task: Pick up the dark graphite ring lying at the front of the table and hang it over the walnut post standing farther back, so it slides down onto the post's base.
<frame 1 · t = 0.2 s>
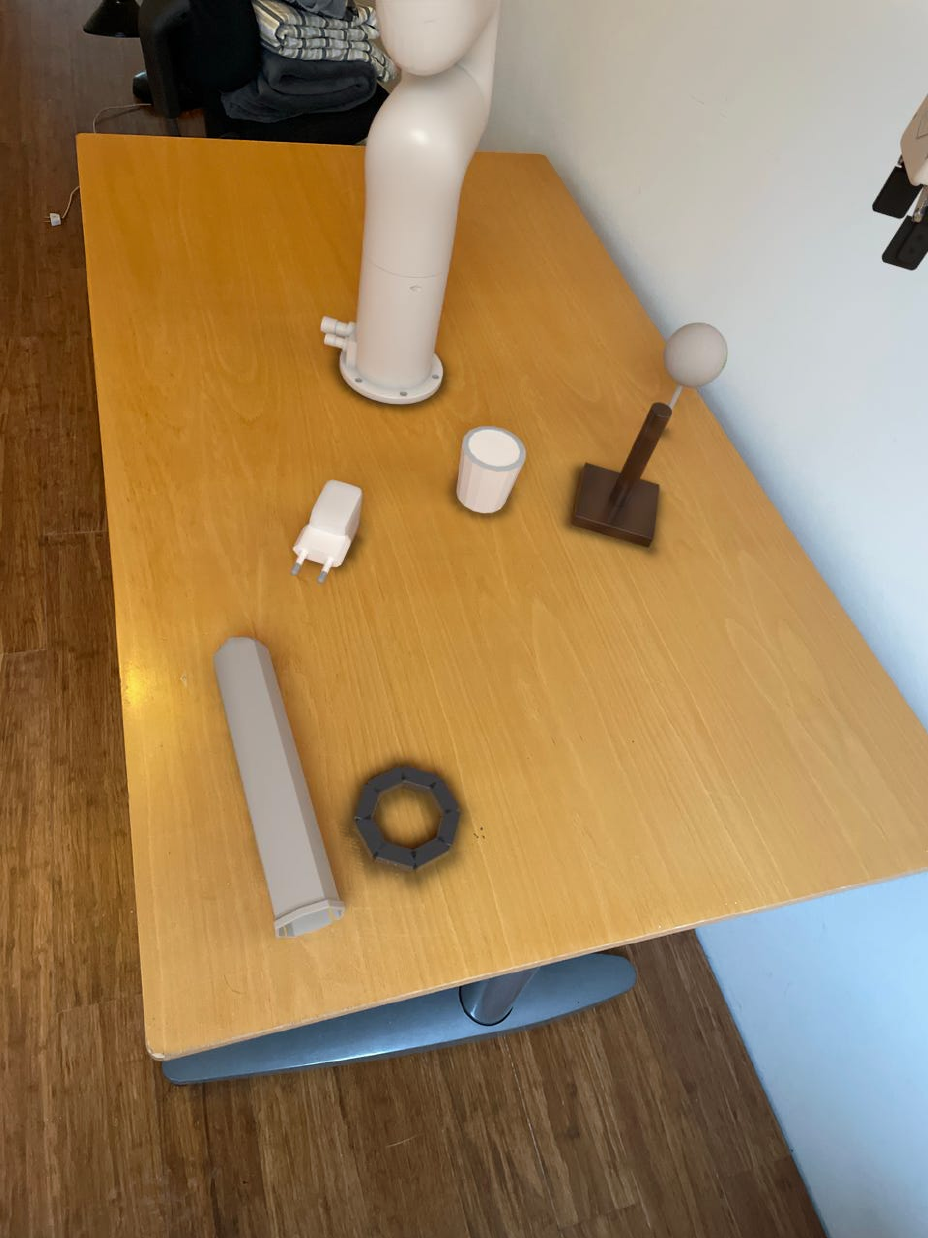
hand: (891, 238, 76), 31 cm above the table, tool pointing down, fingers open, 9 cm apart
shot glass: (480, 495, 91), on the table
power adapter: (325, 559, 81), on the table
tube: (270, 783, 67), on the table
post: (614, 508, 93), on the table
lollipop: (657, 432, 103), on the table
ring: (406, 821, 67), on the table
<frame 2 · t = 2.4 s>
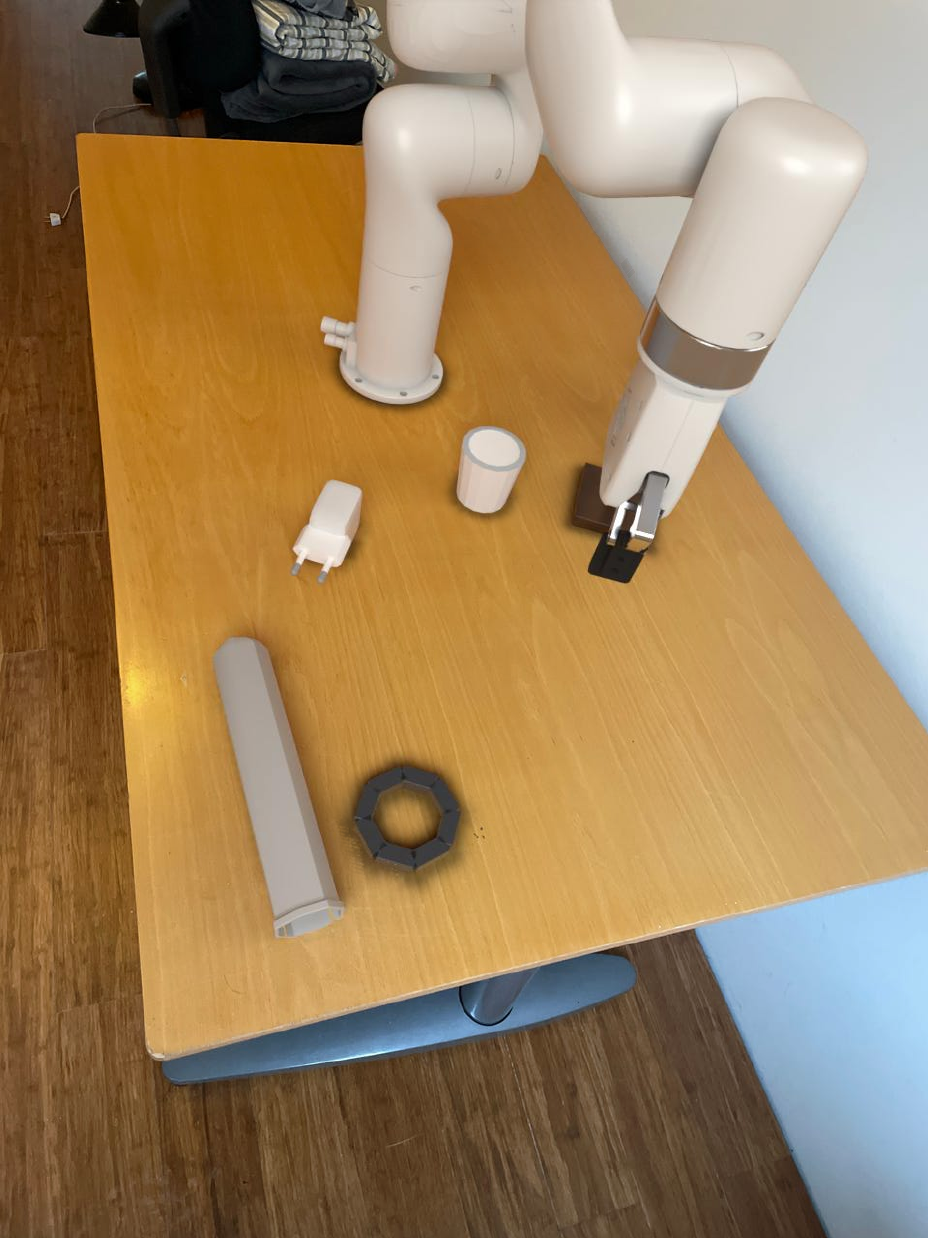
hand: (613, 529, 63), 20 cm above the table, tool pointing down, fingers open, 9 cm apart
nothing on the table moved.
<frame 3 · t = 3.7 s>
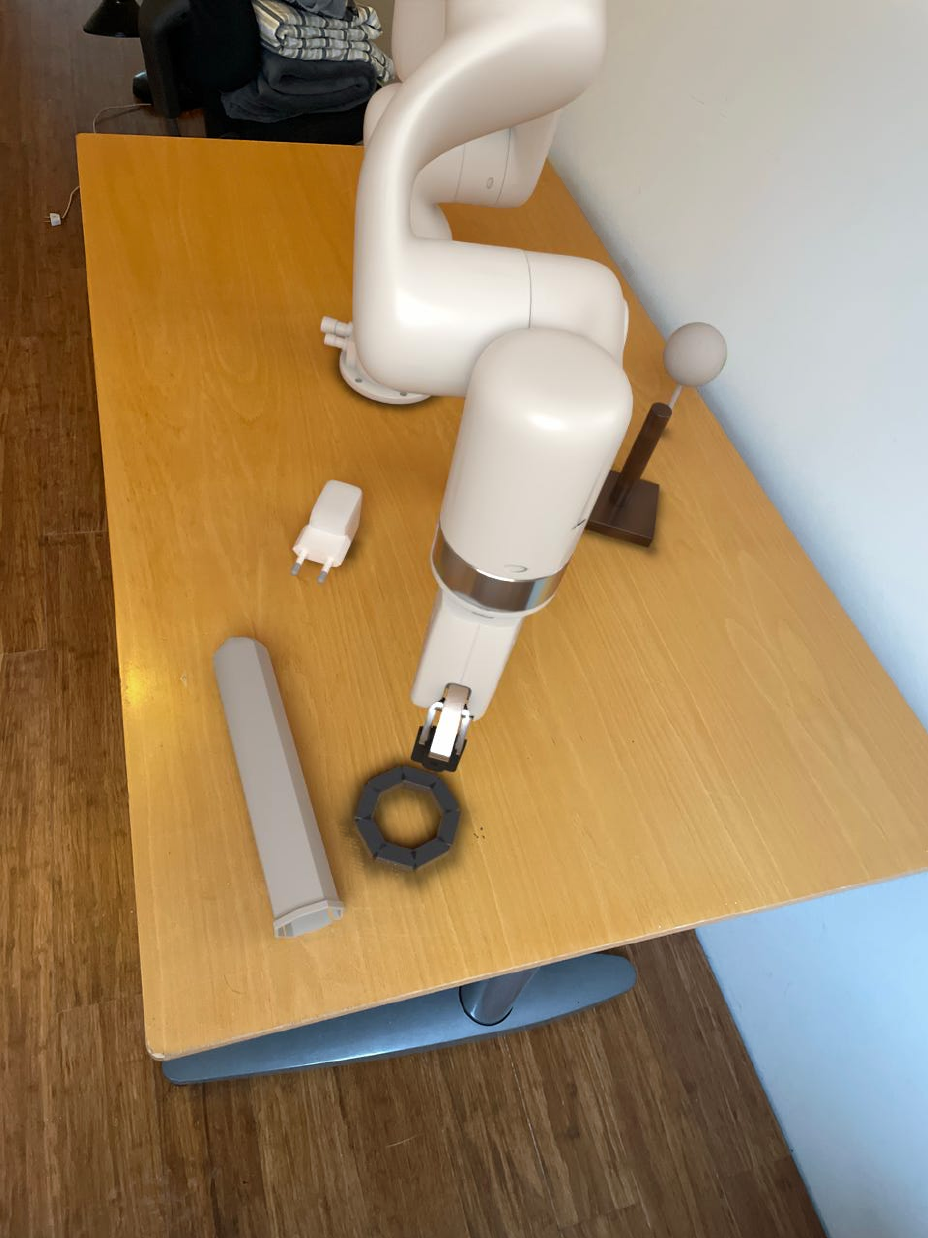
hand: (449, 704, 59), 13 cm above the table, tool pointing down, fingers open, 9 cm apart
nothing on the table moved.
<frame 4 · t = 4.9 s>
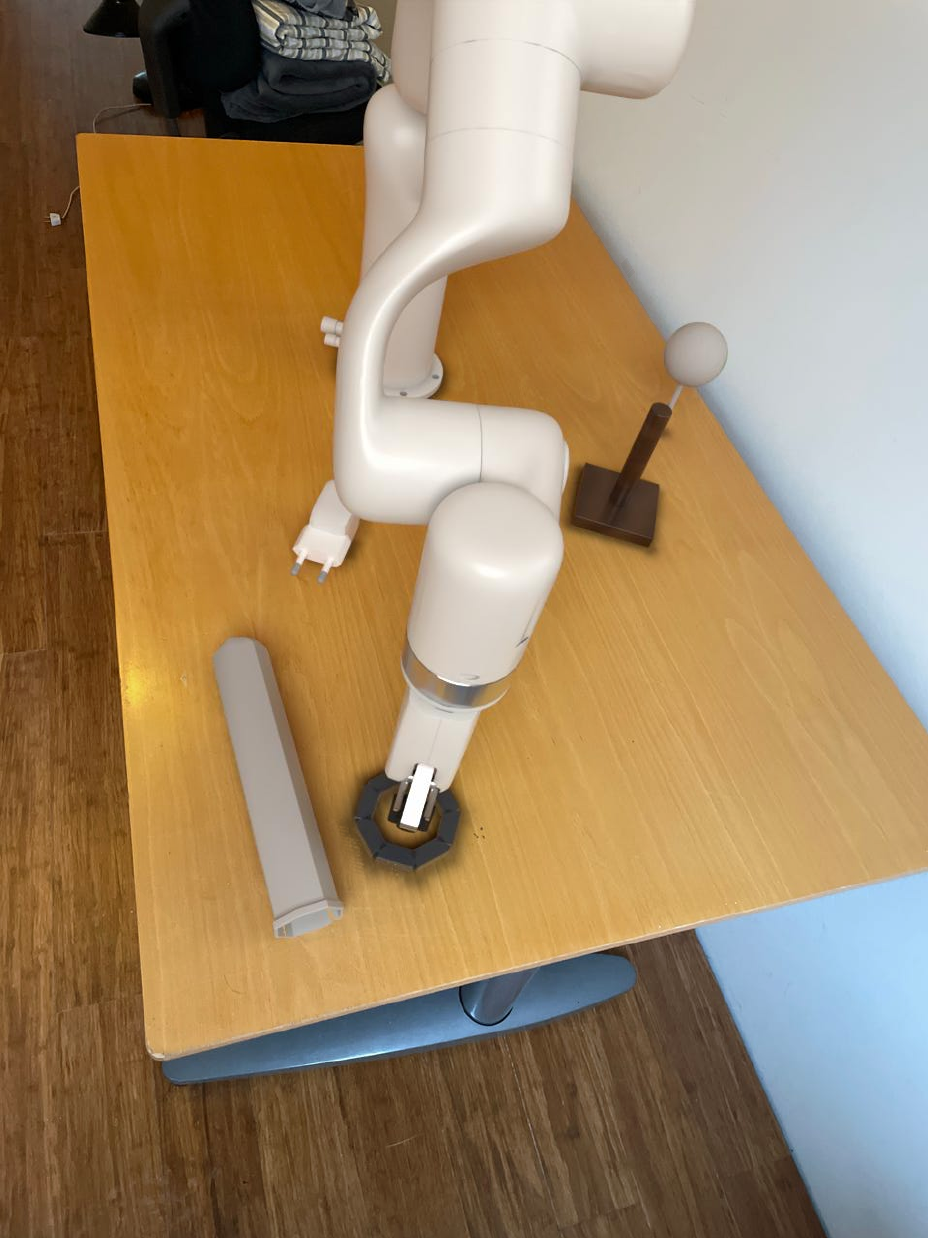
hand: (423, 768, 66), 4 cm above the table, tool pointing down, fingers open, 9 cm apart
nothing on the table moved.
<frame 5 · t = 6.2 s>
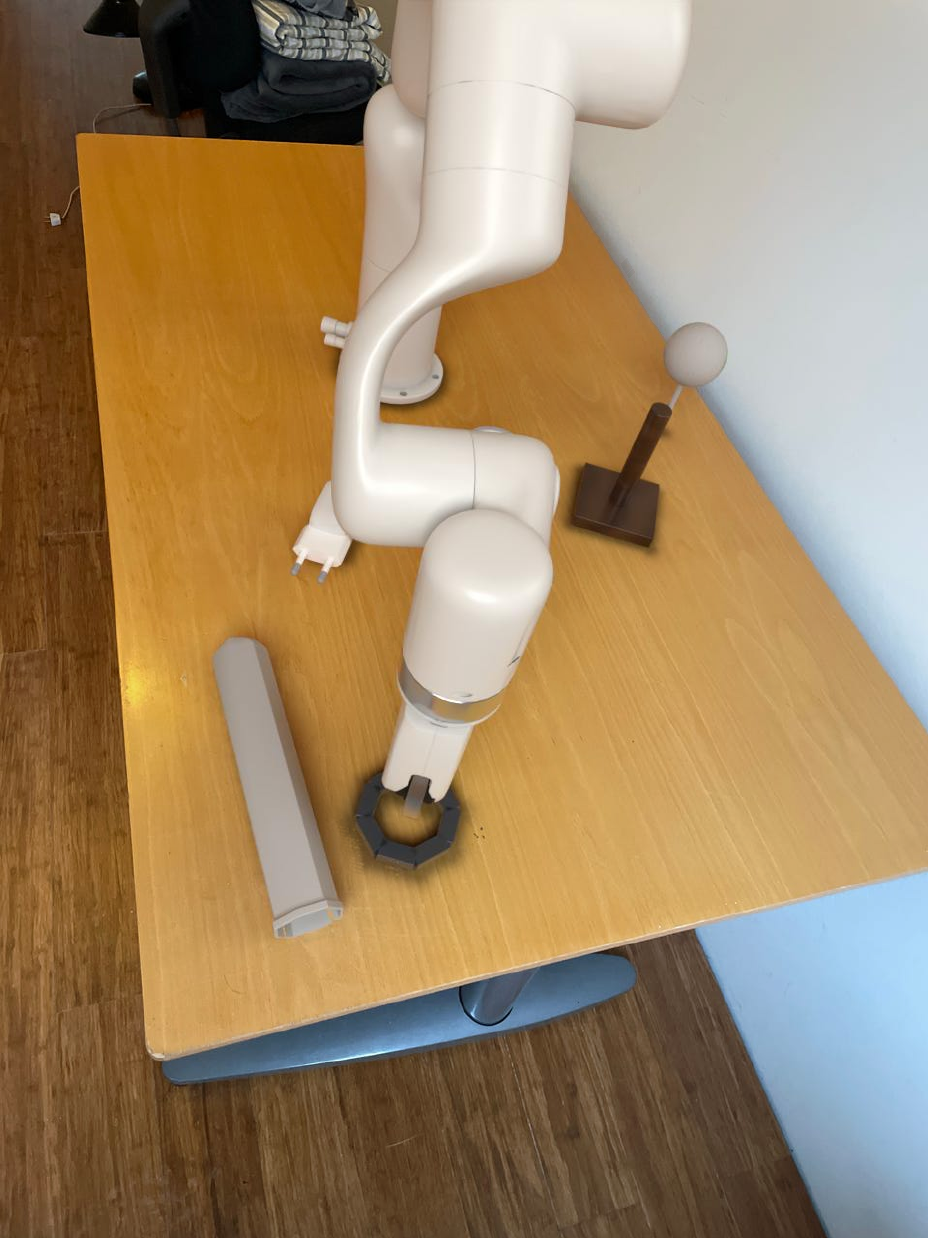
hand: (417, 782, 69), 0 cm above the table, tool pointing down, fingers closed on ring, 1 cm apart
ring: (407, 818, 67), on the table, touching gripper
everything else where it was.
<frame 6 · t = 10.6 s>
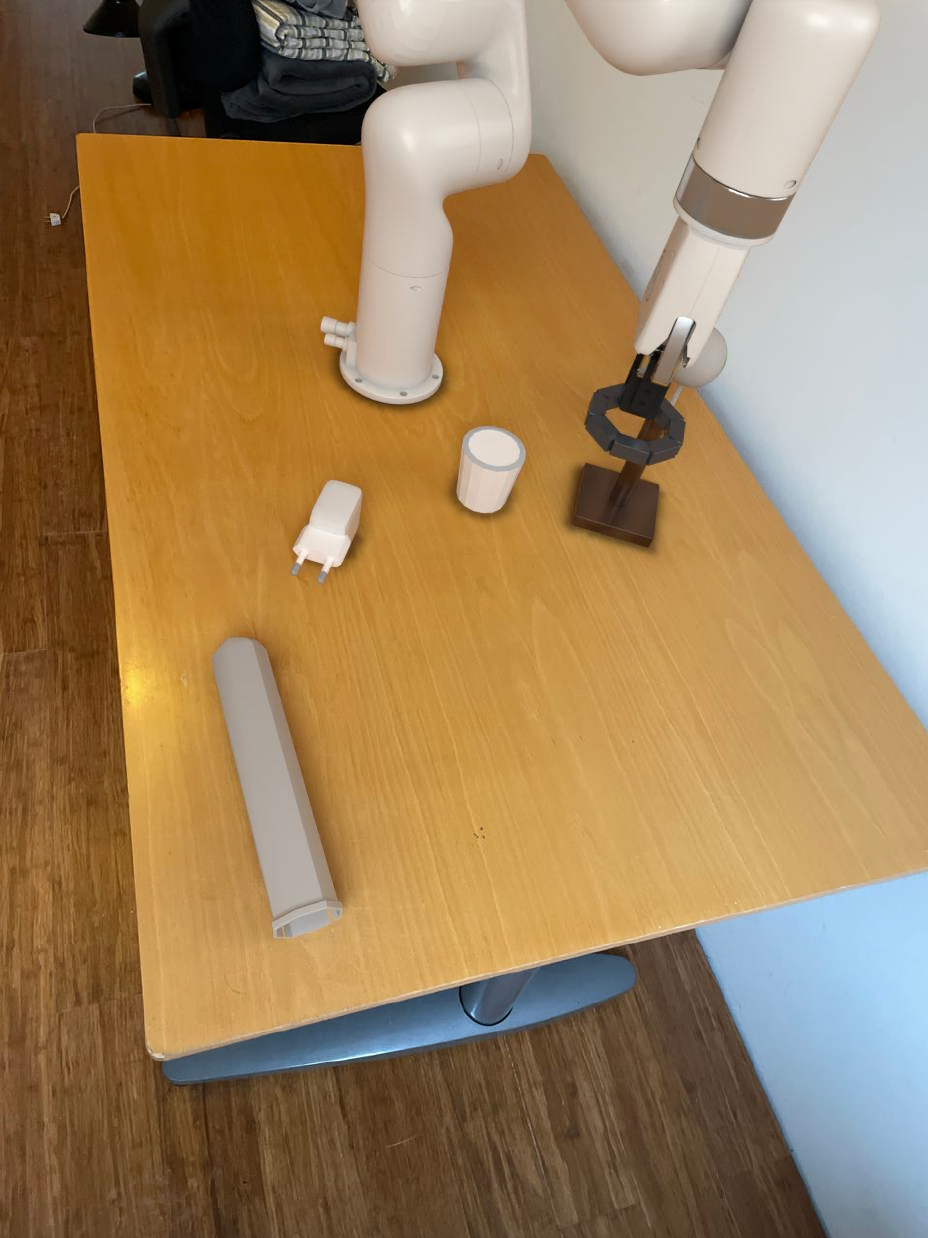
hand: (637, 403, 71), 21 cm above the table, tool pointing down, fingers closed on ring
ring: (632, 429, 69), point 21 cm above the table, touching gripper
everything else where it was.
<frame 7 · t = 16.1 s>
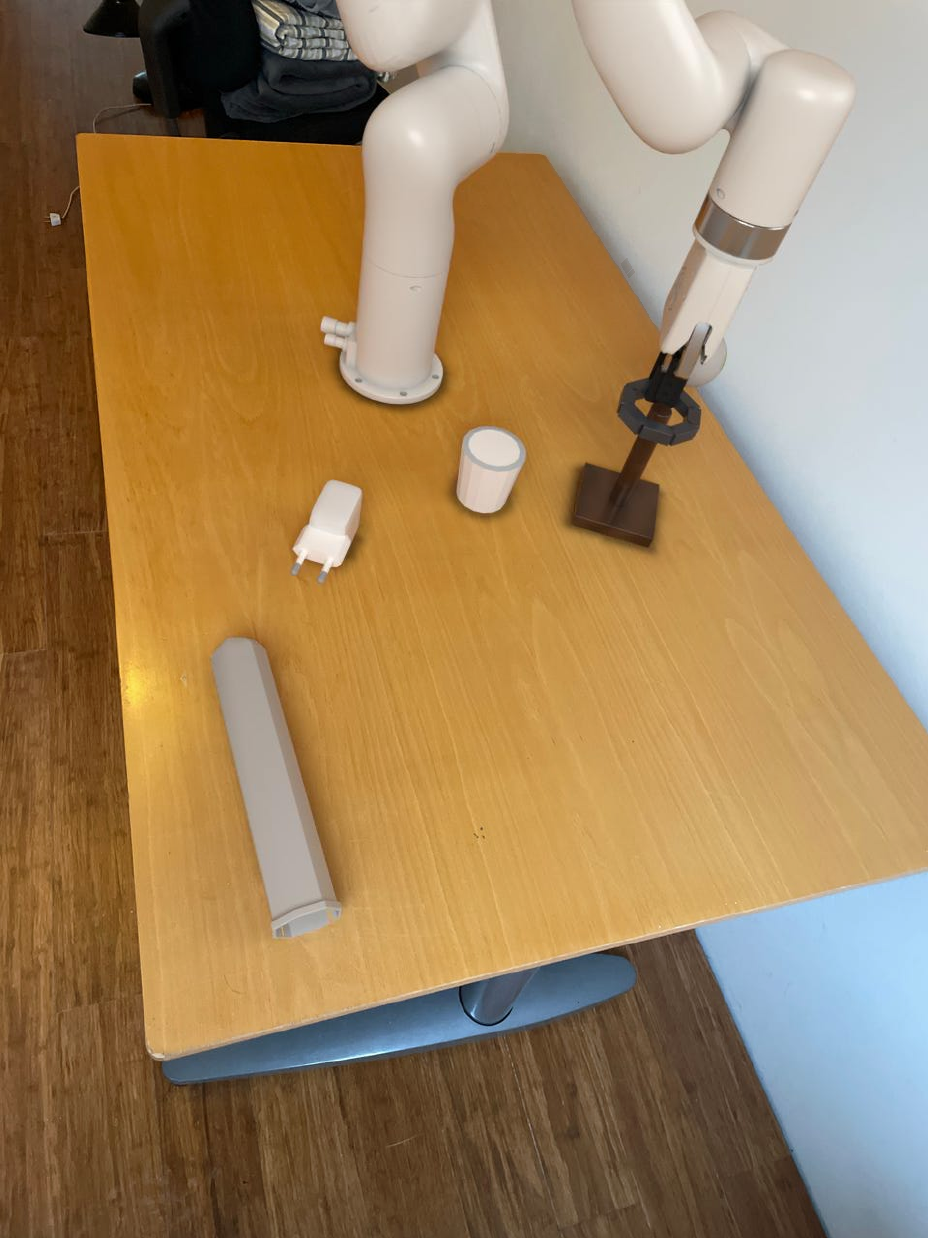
hand: (660, 394, 84), 14 cm above the table, tool pointing down, fingers closed on ring
ring: (656, 416, 82), point 13 cm above the table, touching gripper
everything else where it was.
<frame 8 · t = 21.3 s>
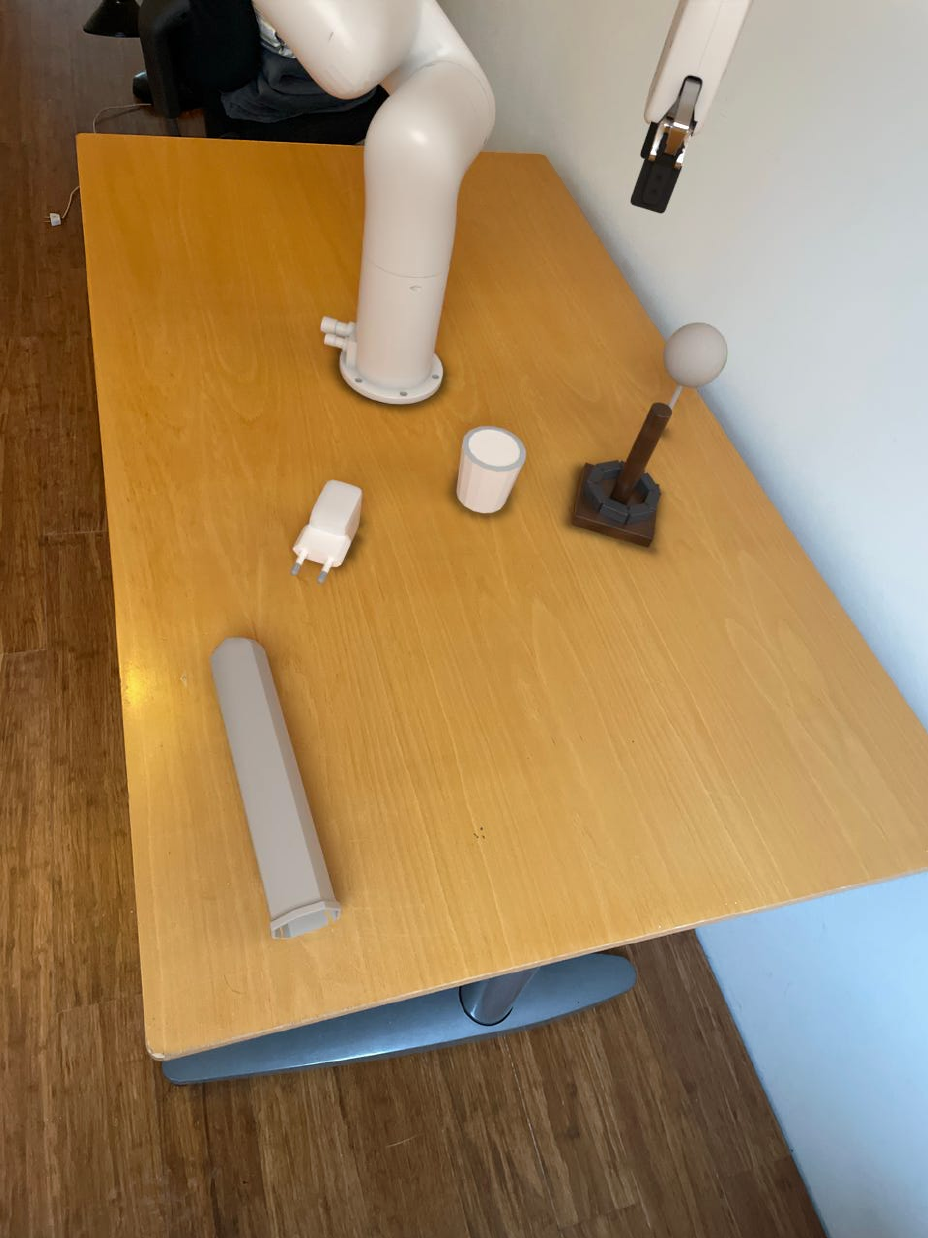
hand: (651, 183, 75), 30 cm above the table, tool pointing down, fingers open, 9 cm apart
ring: (620, 495, 92), point 1 cm above the table, touching post
everything else where it was.
at the end: ring 0.7 cm from the post (horizontally); ring point 1.5 cm above the table; the gripper is holding nothing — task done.
